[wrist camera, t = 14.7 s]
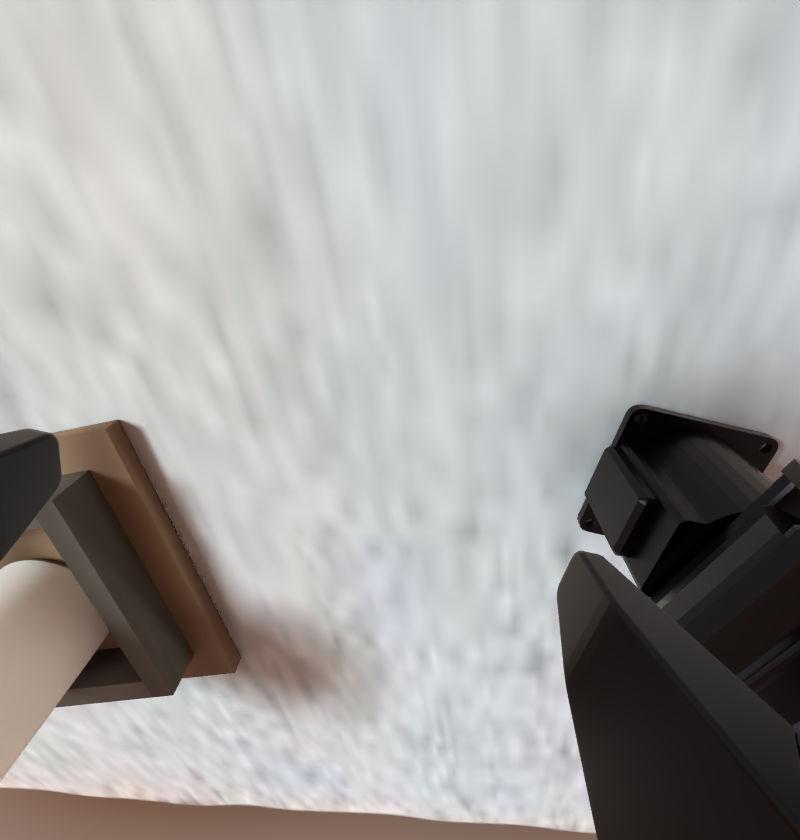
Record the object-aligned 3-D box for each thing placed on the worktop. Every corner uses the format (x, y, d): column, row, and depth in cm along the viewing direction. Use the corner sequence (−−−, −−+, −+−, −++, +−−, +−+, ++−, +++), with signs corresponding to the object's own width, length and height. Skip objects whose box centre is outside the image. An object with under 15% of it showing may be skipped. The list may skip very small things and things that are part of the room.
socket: (118, 419, 23) (67, 456, 20) (241, 657, 29) (217, 714, 26) (-156, 475, 25) (-241, 516, 22) (12, 683, 32) (-34, 738, 29)
